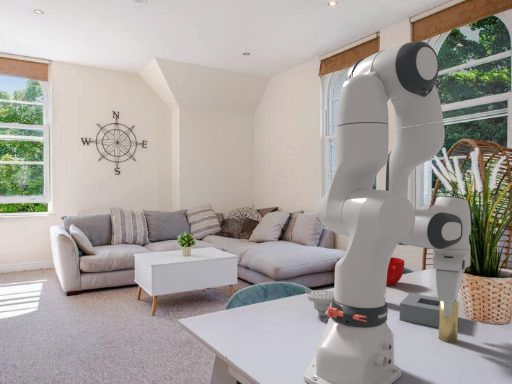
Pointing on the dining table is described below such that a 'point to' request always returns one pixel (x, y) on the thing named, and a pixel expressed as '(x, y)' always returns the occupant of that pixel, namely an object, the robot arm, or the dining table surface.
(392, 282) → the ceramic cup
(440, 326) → the brass pipe
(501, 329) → the dining table surface
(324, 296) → the showerhead
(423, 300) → the fitting block
